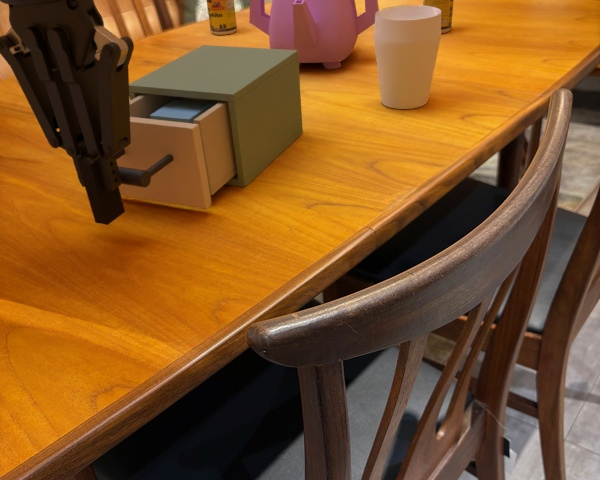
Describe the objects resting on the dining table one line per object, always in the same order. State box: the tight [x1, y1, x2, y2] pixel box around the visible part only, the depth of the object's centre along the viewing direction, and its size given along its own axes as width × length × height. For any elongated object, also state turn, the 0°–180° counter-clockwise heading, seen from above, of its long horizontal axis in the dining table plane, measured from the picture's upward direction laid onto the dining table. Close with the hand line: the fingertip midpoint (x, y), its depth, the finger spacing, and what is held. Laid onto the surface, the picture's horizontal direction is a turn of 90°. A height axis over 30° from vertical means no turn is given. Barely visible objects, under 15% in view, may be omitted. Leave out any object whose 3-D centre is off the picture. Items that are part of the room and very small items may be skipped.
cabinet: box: [129, 44, 304, 188], centre depth 75 cm, size 17×14×11 cm
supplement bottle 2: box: [422, 0, 455, 34], centre depth 116 cm, size 6×6×10 cm
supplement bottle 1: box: [206, 0, 238, 36], centre depth 126 cm, size 6×6×10 cm
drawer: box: [115, 93, 237, 210], centre depth 67 cm, size 21×12×9 cm, turn 156°
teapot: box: [248, 0, 380, 70], centre depth 104 cm, size 19×18×15 cm
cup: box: [373, 4, 442, 110], centre depth 85 cm, size 9×9×12 cm
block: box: [150, 100, 212, 124], centre depth 69 cm, size 5×5×6 cm
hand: (110, 217), depth 60 cm, fingers closed
